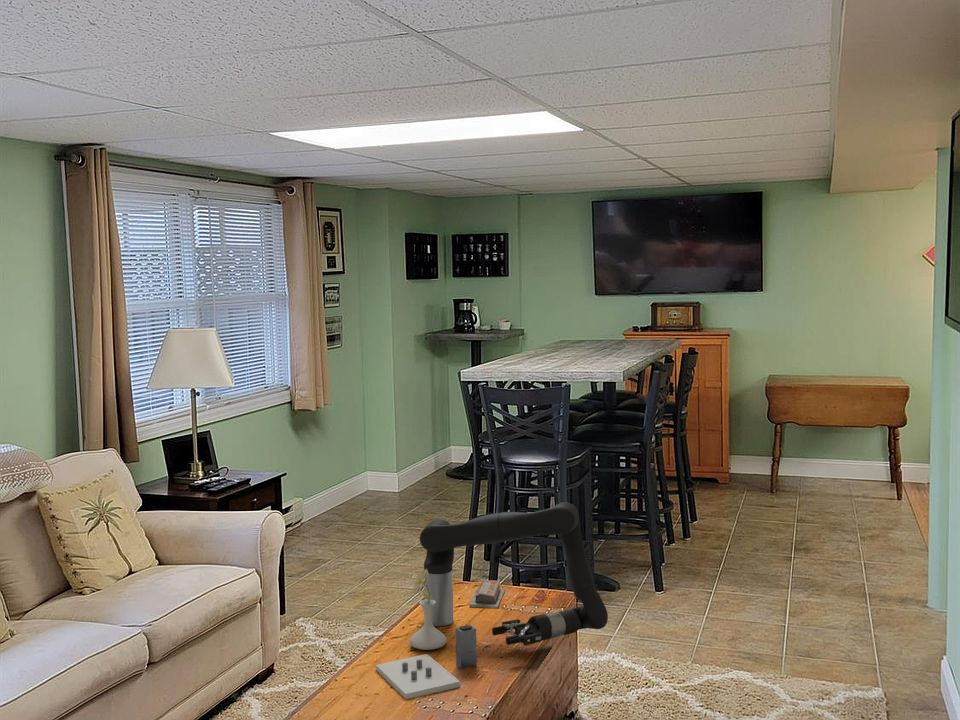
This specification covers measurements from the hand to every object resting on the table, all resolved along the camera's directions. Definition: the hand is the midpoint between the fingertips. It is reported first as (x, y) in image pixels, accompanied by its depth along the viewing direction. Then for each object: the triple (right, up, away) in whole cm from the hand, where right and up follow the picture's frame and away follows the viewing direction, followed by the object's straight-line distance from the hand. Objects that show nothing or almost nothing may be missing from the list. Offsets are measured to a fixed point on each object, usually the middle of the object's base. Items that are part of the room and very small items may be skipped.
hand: (499, 636), depth 277 cm
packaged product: (-3, -3, +53) cm, 53 cm away
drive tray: (-23, -8, -13) cm, 28 cm away
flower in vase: (-21, -6, +10) cm, 24 cm away
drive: (-10, -7, -4) cm, 13 cm away
